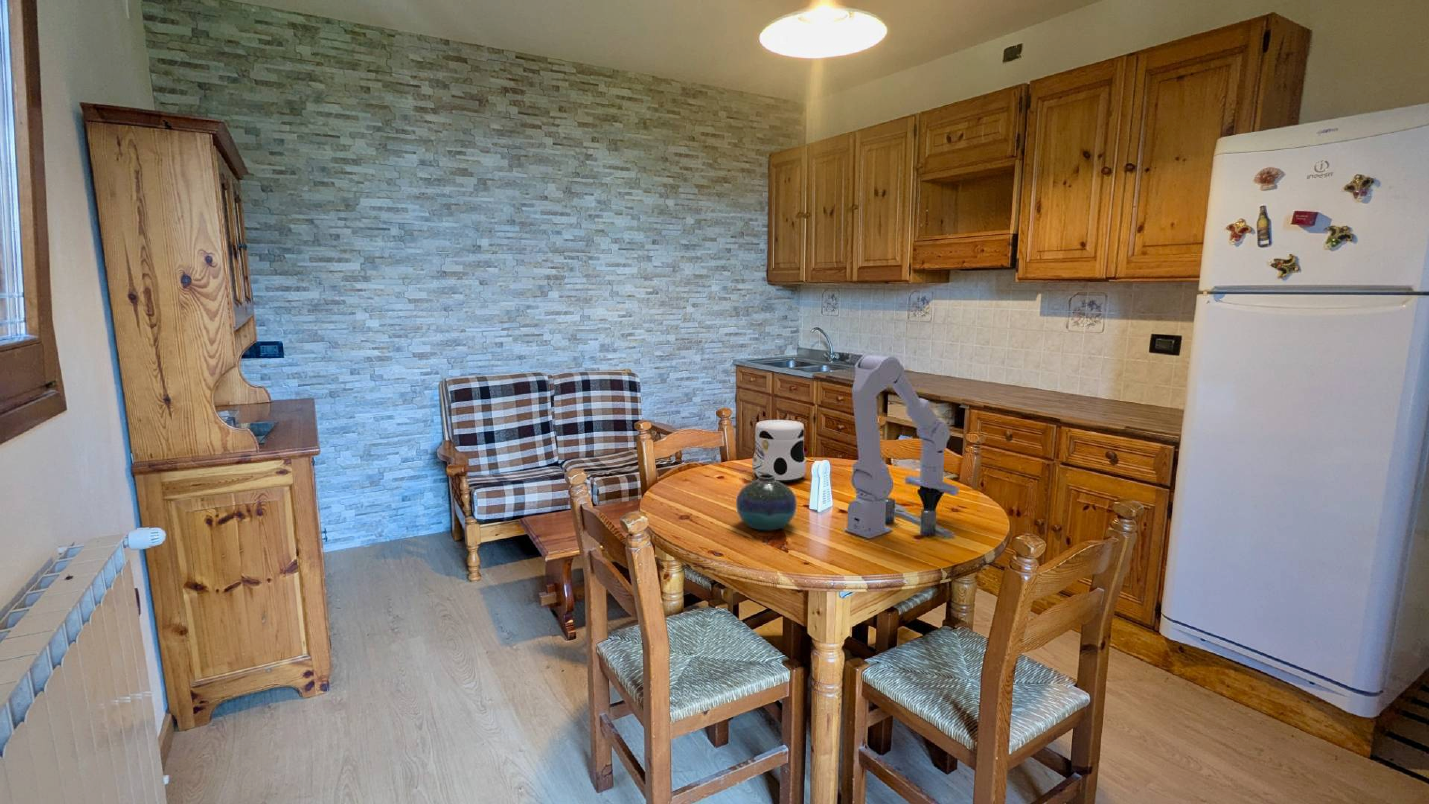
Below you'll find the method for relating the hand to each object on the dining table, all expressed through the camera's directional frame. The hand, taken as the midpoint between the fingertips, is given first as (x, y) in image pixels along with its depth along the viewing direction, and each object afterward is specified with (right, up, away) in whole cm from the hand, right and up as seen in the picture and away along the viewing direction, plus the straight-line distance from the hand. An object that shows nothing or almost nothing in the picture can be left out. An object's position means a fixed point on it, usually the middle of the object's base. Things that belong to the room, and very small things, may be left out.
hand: (929, 515), depth 176 cm
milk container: (-36, +5, +40) cm, 54 cm away
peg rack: (-8, -2, -6) cm, 10 cm away
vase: (-44, -2, -5) cm, 44 cm away
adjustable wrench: (-5, -2, -2) cm, 6 cm away
